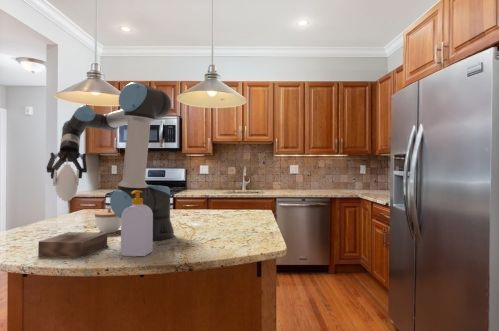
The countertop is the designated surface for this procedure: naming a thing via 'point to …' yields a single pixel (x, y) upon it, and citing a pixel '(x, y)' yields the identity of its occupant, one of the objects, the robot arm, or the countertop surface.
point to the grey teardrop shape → (66, 183)
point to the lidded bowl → (107, 221)
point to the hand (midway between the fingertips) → (65, 183)
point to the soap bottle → (137, 228)
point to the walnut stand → (72, 244)
